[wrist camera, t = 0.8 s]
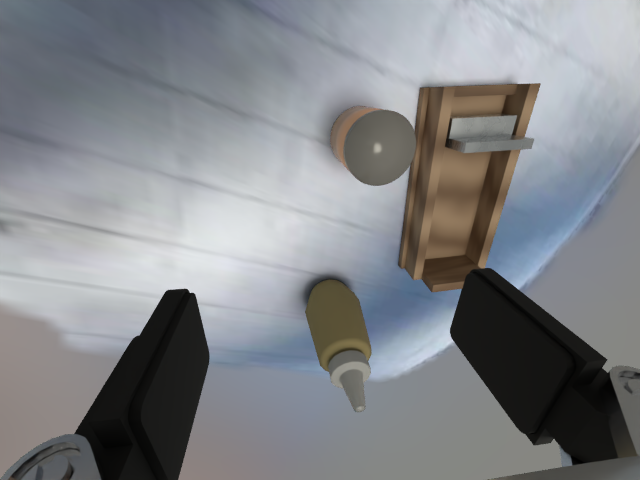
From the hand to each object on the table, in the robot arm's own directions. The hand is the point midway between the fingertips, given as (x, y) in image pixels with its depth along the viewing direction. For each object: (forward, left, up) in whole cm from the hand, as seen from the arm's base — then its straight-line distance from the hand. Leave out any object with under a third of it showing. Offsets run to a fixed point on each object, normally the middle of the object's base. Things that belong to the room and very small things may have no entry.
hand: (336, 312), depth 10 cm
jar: (-2, +8, -27) cm, 28 cm away
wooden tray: (+4, +21, -26) cm, 34 cm away
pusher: (-2, +21, -25) cm, 33 cm away
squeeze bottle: (+21, +4, -27) cm, 34 cm away
